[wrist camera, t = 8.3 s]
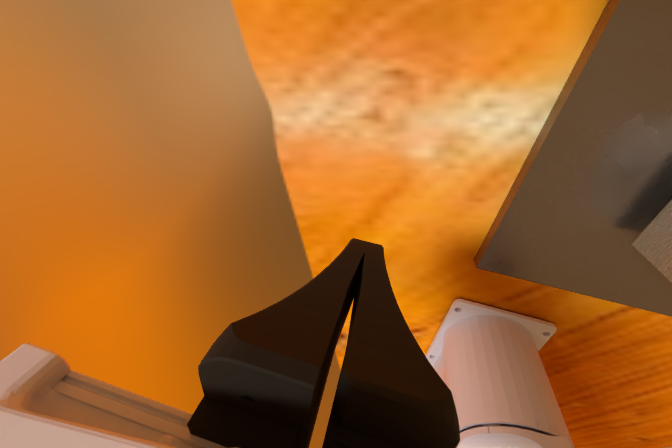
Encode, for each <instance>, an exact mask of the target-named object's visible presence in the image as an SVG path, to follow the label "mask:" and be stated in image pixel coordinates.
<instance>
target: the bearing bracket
mask: <svg viewBox="0 0 672 448" xmlns="http://www.w3.org/2000/svg"><path fill="white" fill-rule="evenodd" d="M671 199H672V0H609V1H608V3H607V5H606V7H605V9H604V11H603V13H602V14H601V16H600V18H599V20H598V22H597V24H596V26H595V28H594V30H593V32H592V34H591V36H590V38H589V39H588V41H587V43H586V45H585V47H584V49H583V51H582V53H581V55H580V57H579V59H578V61H577V62H576V64H575V66H574V68H573V70H572V72H571V74H570V76H569V78H568V80H567V82H566V84H565V86H564V87H563V89H562V91H561V93H560V95H559V97H558V99H557V101H556V103H555V105H554V107H553V109H552V111H551V112H550V114H549V116H548V118H547V120H546V122H545V124H544V126H543V128H542V130H541V132H540V134H539V136H538V137H537V139H536V141H535V143H534V145H533V147H532V149H531V151H530V153H529V155H528V157H527V159H526V161H525V162H524V164H523V166H522V168H521V170H520V172H519V174H518V176H517V178H516V180H515V182H514V184H513V185H512V187H511V189H510V191H509V193H508V195H507V197H506V199H505V201H504V203H503V205H502V207H501V209H500V210H499V212H498V214H497V216H496V218H495V220H494V222H493V224H492V226H491V228H490V230H489V232H488V234H487V235H486V237H485V239H484V241H483V243H482V245H481V247H480V249H479V251H478V253H477V255H476V257H475V259H474V261H475V265H476V268H479V269H483V270H487V271H491V272H495V273H499V274H503V275H507V276H511V277H515V278H519V279H523V280H527V281H531V282H535V283H539V284H543V285H547V286H551V287H555V288H559V289H563V290H567V291H571V292H575V293H579V294H583V295H587V296H591V297H595V298H599V299H603V300H607V301H611V302H616V303H620V304H624V305H628V306H632V307H636V308H640V309H644V310H648V311H652V312H656V313H660V314H664V315H668V316H672V282H670V281H669V280H668V279H667V278H666V277H665V276H664V275H663V274H662V273H661V272H660V271H659V270H658V269H657V268H656V267H655V266H654V265H653V264H652V263H650V262H649V261H648V260H647V259H646V258H645V257H644V256H643V255H642V254H641V253H640V252H639V251H638V250H637V249H636V248H635V247H634V246H633V245H632V243H633V242H634V241H635V240H636V239H637V238H638V236H639V235H640V234H641V233H642V232H643V231H644V230H645V229H646V228H647V226H648V225H649V224H650V223H651V222H652V221H653V220H654V219H655V217H656V216H657V215H658V214H659V213H660V212H661V211H662V210H663V208H664V207H665V206H666V205H667V204H668V203H669V202H670V201H671Z"/></svg>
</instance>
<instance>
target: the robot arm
mask: <svg viewBox="0 0 672 448" xmlns="http://www.w3.org/2000/svg"><path fill="white" fill-rule="evenodd" d="M353 299H354V301H353ZM352 301H353V308H352V314H351V321H350V328H349V334H348V341H347V347H346V352H345V356H344V361H343V365H342V369H341V373H340V377H339V381H338V385H337V390H336V393H335V398H334V402H333V406H332V410H331V414H330V418H329V422H328V426H327V430H326V434H325V439H324V443H323V447H322V448H575V447H574V444H573V441H572V439H571V436H570V434H569V431H568V428H567V426H566V423H565V420H564V418H563V415H562V413H561V410H560V407H559V405H558V402H557V400H556V397H555V394H554V392H553V389H552V387H551V384H550V381H549V379H548V376H547V373H546V371H545V368H544V366H543V363H542V360H541V358H540V355H539V353H538V351H539V350H540V349H541V348H542V347H543V346H544V345H545V343H546V342H547V341H548V340H549V339H550V338H551V337H552V336H553V335H554V333H555V332H556V331H557V328H556V326H555V324H553V323H550V322H547V321H543V320H539V319H535V318H532V317H528V316H524V315H520V314H517V313H513V312H509V311H505V310H502V309H498V308H494V307H490V306H487V305H483V304H479V303H475V302H471V301H468V300H464V299H456V300H454V302H453V304H452V305H451V307H450V309H449V311H448V313H447V315H446V317H445V319H444V321H443V323H442V324H441V326H440V328H439V330H438V332H437V334H436V336H435V338H434V340H433V342H432V344H431V345H430V347H429V349H428V351H427V353H426V355H424V353H423V352H422V350H421V348H420V347H419V345H418V343H417V341H416V340H415V338H414V336H413V335H412V333H411V331H410V329H409V327H408V325H407V323H406V321H405V320H404V317H403V315H402V313H401V311H400V309H399V306H398V304H397V301H396V299H395V296H394V293H393V291H392V287H391V284H390V281H389V277H388V274H387V270H386V265H385V260H384V248H383V247H382V245H378V244H374V243H370V242H366V241H362V240H358V239H354V238H353V239H351V240H350V242H349V243H348V245H347V246H346V247H345V249H344V250H343V251H342V252H341V253H340V254H339V255H338V256H337V258H336V259H335V260H334V261H333V262H332V263H331V264H330V265H329V266H328V267H326V268H325V269H324V270H323V271H322V272H321V273H320V274H319V275H317V276H316V277H315V278H314V279H312V280H311V281H310V282H309V283H307V284H306V285H304V286H303V287H302V288H300V289H299V290H297V291H296V292H294V293H293V294H291V295H289V296H288V297H286V298H284V299H283V300H281V301H279V302H277V303H275V304H273V305H271V306H269V307H267V308H266V309H264V310H262V311H259V312H257V313H255V314H253V315H251V316H248V317H246V318H243V319H241V320H238V321H236V322H233V323H231V324H230V325H229V326H228V327H227V328H226V329H225V330H224V332H223V333H222V334H221V335H220V336H219V337H218V338H217V340H216V341H215V342H214V343H213V345H212V346H211V348H210V350H209V351H208V352H207V354H206V355H205V357H204V358H203V360H202V361H201V363H200V365H199V367H198V370H199V377H200V381H201V384H202V388H203V392H204V397H203V399H202V400H201V402H200V404H199V405H198V407H197V409H196V410H195V412H194V414H190V413H187V412H184V411H182V410H179V409H176V408H173V407H171V406H168V405H165V404H162V403H160V402H157V401H154V400H151V399H149V398H146V397H143V396H141V395H137V394H135V393H132V392H130V391H127V390H124V389H121V388H119V387H116V386H113V385H111V384H108V383H105V382H102V381H100V380H97V379H94V378H91V377H88V376H86V375H83V374H80V373H77V372H75V371H72V370H70V366H69V365H68V363H67V362H66V360H65V359H63V358H62V357H61V356H60V355H58V354H56V353H54V352H52V351H49V350H46V349H43V348H40V347H38V346H35V345H32V344H29V343H25V344H23V345H22V346H20V347H19V348H18V349H16V350H15V351H14V352H12V353H11V354H10V355H9V356H7V357H6V358H4V359H3V360H2V361H0V448H309V444H310V441H311V437H312V433H313V429H314V425H315V422H316V418H317V414H318V410H319V407H320V403H321V399H322V395H323V391H324V388H325V384H326V381H327V377H328V373H329V369H330V366H331V362H332V358H333V355H334V351H335V348H336V345H337V342H338V339H339V336H340V333H341V331H342V328H343V325H344V323H345V320H346V317H347V315H348V312H349V309H350V307H351V304H352ZM456 308H459V309H456Z"/></svg>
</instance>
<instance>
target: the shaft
mask: <svg viewBox="0 0 672 448" xmlns="http://www.w3.org/2000/svg"><path fill="white" fill-rule="evenodd" d="M632 245H633V246H634V247H635V248H636V249H637V250H638V251H639V252H640V253H641V254H642V255H643V256H644V257H645V258H646V259H647V260H648V261H649V262H650V263H652V264H653V265H654V266H655V267H656V268H657V269H658V270H659V271H660V272H661V273H662V274H663V275H664V276H665V277H666V278H667V279H668V280H669V281H670V282H672V199H671V201H670V202H669V203H668V204H667V205H666V206H665V207H664V208H663V210H662V211H661V212H660V213H659V214H658V215H657V216H656V217H655V219H654V220H653V221H652V222H651V223H650V224H649V225H648V226H647V228H646V229H645V230H644V231H643V232H642V233H641V234H640V235H639V236H638V238H637V239H636V240H635V241H634V242H633V243H632Z"/></svg>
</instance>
